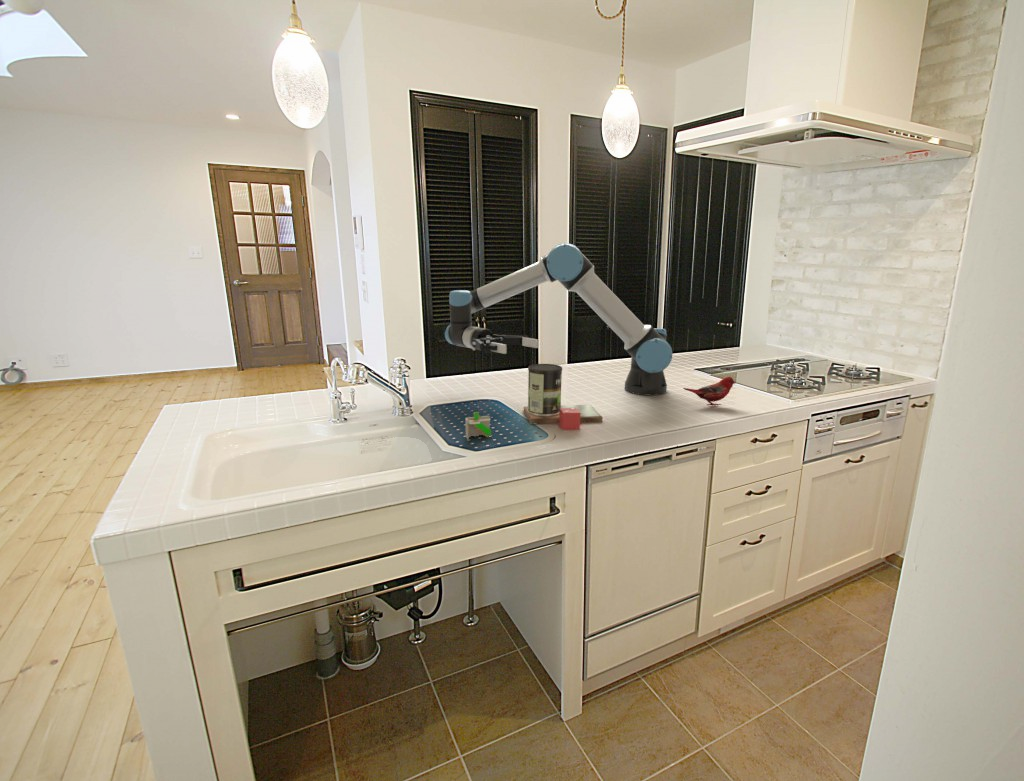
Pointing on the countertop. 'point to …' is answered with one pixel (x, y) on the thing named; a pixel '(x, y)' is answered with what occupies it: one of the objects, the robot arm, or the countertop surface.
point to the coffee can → (544, 389)
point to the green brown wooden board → (585, 410)
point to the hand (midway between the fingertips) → (521, 346)
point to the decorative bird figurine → (714, 390)
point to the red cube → (569, 418)
